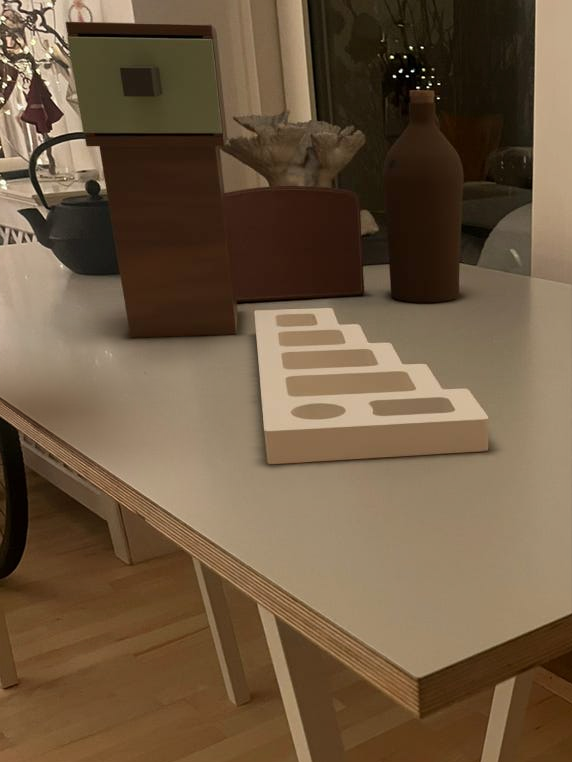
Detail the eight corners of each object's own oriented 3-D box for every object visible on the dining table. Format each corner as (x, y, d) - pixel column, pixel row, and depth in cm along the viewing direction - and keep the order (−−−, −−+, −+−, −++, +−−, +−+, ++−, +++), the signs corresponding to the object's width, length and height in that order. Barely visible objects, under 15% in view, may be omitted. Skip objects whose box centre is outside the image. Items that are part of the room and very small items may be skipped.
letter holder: (365, 295, 137) (360, 184, 130) (220, 305, 131) (206, 188, 124) (347, 283, 145) (341, 177, 138) (209, 291, 139) (196, 181, 132)
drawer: (219, 138, 96) (208, 36, 91) (69, 138, 93) (51, 34, 89) (225, 126, 115) (216, 42, 111) (100, 126, 112) (86, 40, 108)
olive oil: (446, 307, 131) (445, 91, 119) (374, 300, 134) (365, 90, 122) (473, 292, 140) (475, 90, 127) (405, 286, 143) (400, 89, 130)
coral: (238, 273, 151) (220, 114, 140) (212, 253, 167) (195, 109, 156) (392, 263, 160) (387, 113, 149) (354, 245, 176) (347, 109, 165)
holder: (256, 334, 116) (254, 310, 115) (408, 328, 120) (407, 305, 118) (267, 464, 78) (264, 431, 77) (489, 450, 82) (489, 418, 80)
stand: (244, 337, 115) (211, 24, 99) (119, 342, 112) (65, 21, 97) (245, 312, 127) (216, 29, 111) (132, 316, 124) (85, 26, 109)
